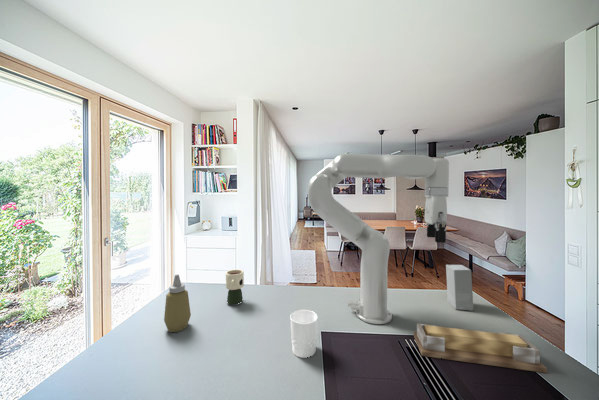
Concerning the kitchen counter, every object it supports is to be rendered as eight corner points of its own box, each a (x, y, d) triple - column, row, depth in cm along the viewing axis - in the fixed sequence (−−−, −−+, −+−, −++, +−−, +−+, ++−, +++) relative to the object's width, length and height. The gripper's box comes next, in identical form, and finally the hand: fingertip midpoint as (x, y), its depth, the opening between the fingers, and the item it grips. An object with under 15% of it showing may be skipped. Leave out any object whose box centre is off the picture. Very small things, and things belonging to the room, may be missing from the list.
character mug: (242, 309, 95) (241, 276, 95) (223, 309, 94) (223, 276, 94) (245, 297, 106) (245, 267, 105) (228, 297, 105) (228, 268, 105)
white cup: (309, 363, 65) (309, 326, 64) (284, 353, 69) (284, 318, 68) (322, 347, 71) (322, 314, 71) (299, 339, 75) (299, 307, 75)
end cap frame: (421, 355, 68) (421, 339, 67) (413, 335, 77) (413, 320, 77) (546, 373, 61) (547, 354, 61) (520, 348, 71) (520, 332, 71)
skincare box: (473, 311, 93) (474, 270, 92) (453, 309, 94) (453, 269, 94) (463, 301, 101) (464, 264, 101) (444, 300, 102) (445, 263, 102)
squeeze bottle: (196, 324, 84) (195, 273, 83) (175, 337, 76) (174, 280, 76) (179, 319, 87) (178, 269, 87) (158, 331, 80) (157, 277, 79)
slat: (428, 346, 70) (428, 332, 70) (424, 338, 74) (424, 325, 74) (526, 358, 64) (527, 344, 64) (517, 349, 68) (517, 335, 68)
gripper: (419, 192, 97) (418, 235, 98) (432, 192, 81) (431, 244, 81) (439, 192, 96) (439, 235, 96) (457, 192, 79) (456, 245, 79)
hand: (435, 239), depth 89 cm, fingers open, 9 cm apart
